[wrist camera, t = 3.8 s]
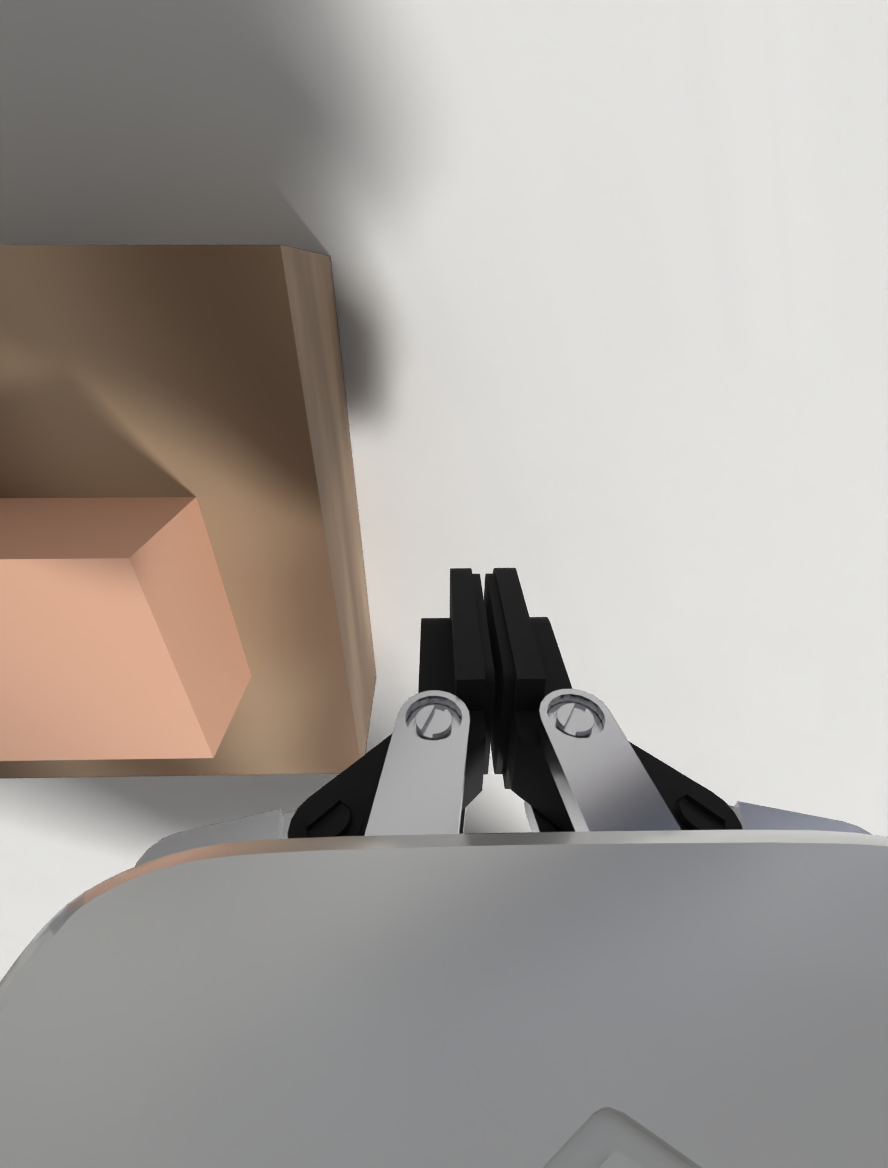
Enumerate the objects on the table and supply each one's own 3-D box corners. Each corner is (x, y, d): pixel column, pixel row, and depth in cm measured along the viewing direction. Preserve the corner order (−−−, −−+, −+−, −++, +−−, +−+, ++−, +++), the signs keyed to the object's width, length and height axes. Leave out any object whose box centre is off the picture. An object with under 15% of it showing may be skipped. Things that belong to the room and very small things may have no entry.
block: (196, 496, 11) (129, 558, 9) (251, 676, 15) (213, 758, 12) (-53, 498, 11) (-192, 560, 9) (58, 678, 15) (-20, 761, 12)
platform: (330, 256, 13) (279, 244, 9) (376, 677, 22) (362, 773, 17) (-186, 256, 13) (-489, 244, 9) (70, 681, 21) (-18, 778, 17)
